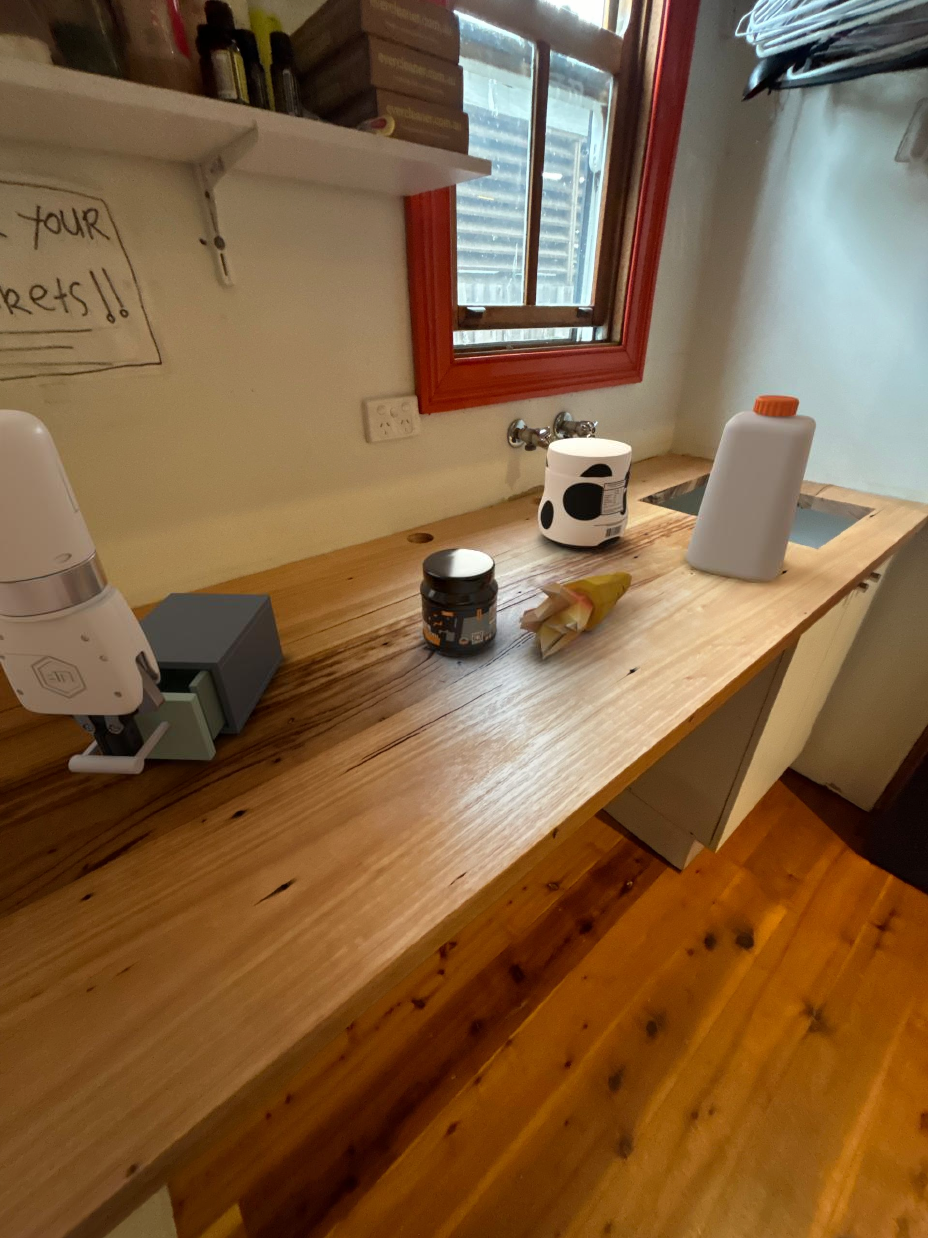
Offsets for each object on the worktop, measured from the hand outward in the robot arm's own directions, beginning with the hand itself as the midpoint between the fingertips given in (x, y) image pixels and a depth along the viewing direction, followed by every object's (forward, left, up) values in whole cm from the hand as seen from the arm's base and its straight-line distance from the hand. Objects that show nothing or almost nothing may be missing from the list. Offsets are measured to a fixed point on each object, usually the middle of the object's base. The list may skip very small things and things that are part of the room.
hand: (127, 754), depth 51 cm
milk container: (+52, +67, -5) cm, 85 cm away
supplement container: (+30, +29, -5) cm, 42 cm away
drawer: (0, +7, -4) cm, 8 cm away
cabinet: (0, +16, -5) cm, 16 cm away
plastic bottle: (+78, +56, -5) cm, 96 cm away
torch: (+48, +33, -5) cm, 58 cm away
